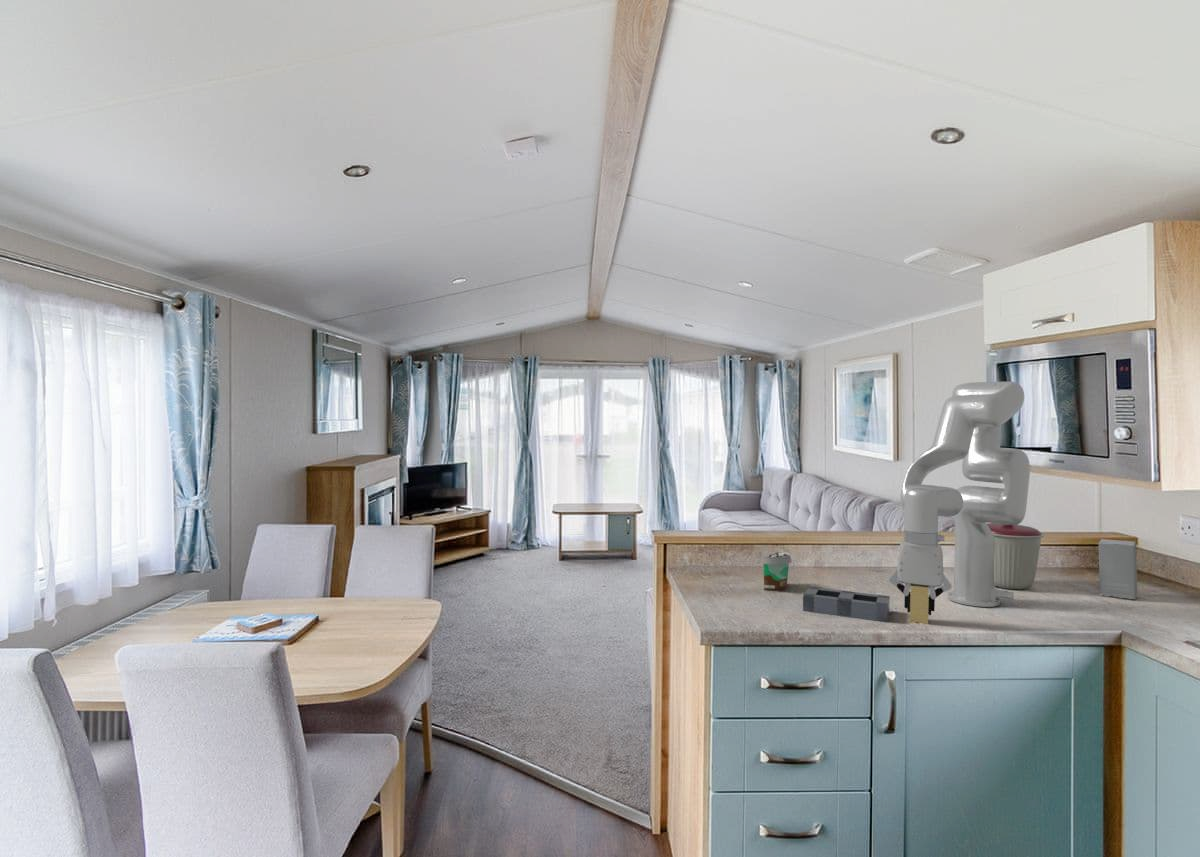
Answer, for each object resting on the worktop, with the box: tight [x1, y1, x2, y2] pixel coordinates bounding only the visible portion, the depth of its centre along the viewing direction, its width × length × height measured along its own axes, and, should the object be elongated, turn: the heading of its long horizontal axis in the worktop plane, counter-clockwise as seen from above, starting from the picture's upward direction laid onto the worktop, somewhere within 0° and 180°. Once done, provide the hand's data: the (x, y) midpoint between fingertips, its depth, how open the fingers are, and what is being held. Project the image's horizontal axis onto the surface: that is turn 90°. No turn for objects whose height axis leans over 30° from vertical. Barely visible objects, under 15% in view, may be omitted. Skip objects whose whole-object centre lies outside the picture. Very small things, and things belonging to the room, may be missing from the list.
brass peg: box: [909, 584, 930, 625], centre depth 163 cm, size 4×4×9 cm
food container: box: [762, 549, 792, 592], centre depth 193 cm, size 12×6×10 cm, turn 148°
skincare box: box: [1098, 538, 1138, 600], centre depth 188 cm, size 8×7×16 cm
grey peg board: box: [802, 586, 891, 623], centre depth 171 cm, size 20×10×4 cm, turn 63°
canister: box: [986, 523, 1045, 590], centre depth 199 cm, size 18×18×21 cm
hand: (919, 611), depth 163 cm, fingers closed on brass peg, 4 cm apart
